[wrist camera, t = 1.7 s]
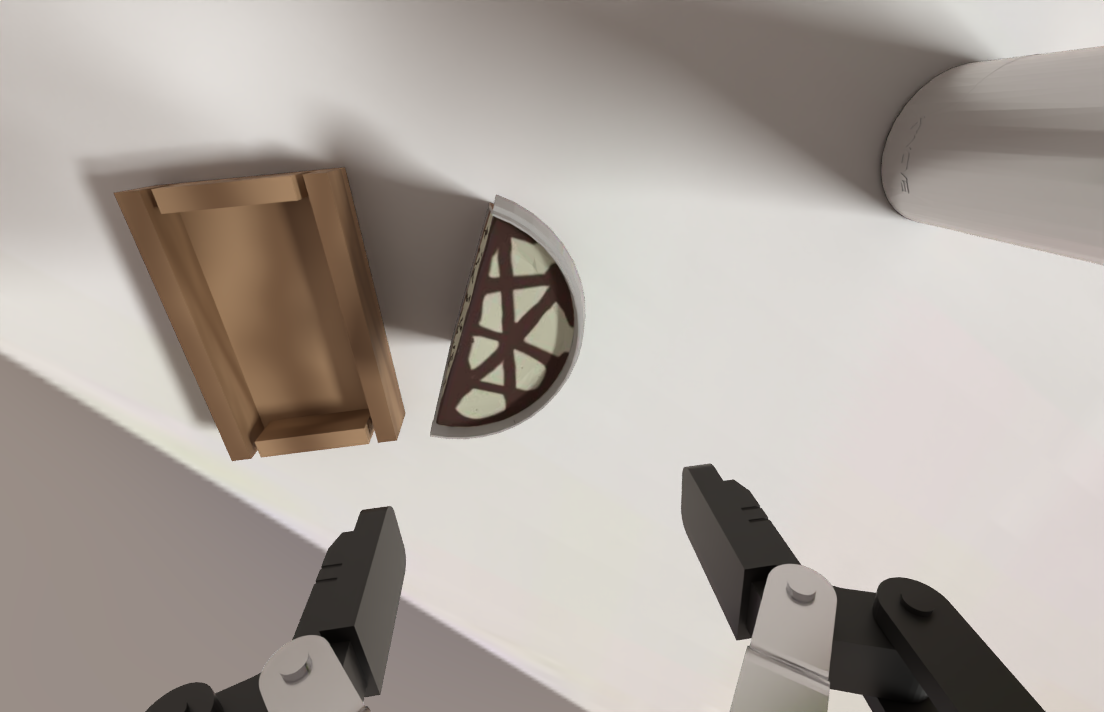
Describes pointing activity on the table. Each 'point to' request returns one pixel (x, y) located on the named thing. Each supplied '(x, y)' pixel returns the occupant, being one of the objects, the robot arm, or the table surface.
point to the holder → (272, 308)
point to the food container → (511, 328)
